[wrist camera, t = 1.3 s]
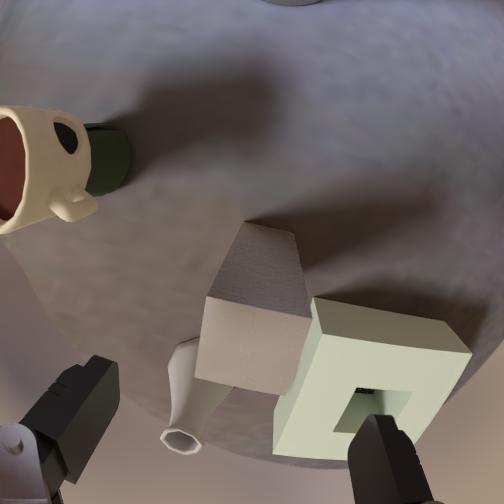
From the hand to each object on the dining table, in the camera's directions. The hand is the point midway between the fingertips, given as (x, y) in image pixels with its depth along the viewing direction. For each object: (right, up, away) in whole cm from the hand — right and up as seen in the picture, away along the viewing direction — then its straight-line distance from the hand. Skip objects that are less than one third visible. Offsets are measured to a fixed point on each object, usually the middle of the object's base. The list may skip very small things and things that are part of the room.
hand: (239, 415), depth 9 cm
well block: (+11, -7, +20) cm, 23 cm away
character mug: (-12, +13, +16) cm, 24 cm away
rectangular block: (+1, +5, +17) cm, 18 cm away
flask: (-4, -6, +21) cm, 22 cm away
